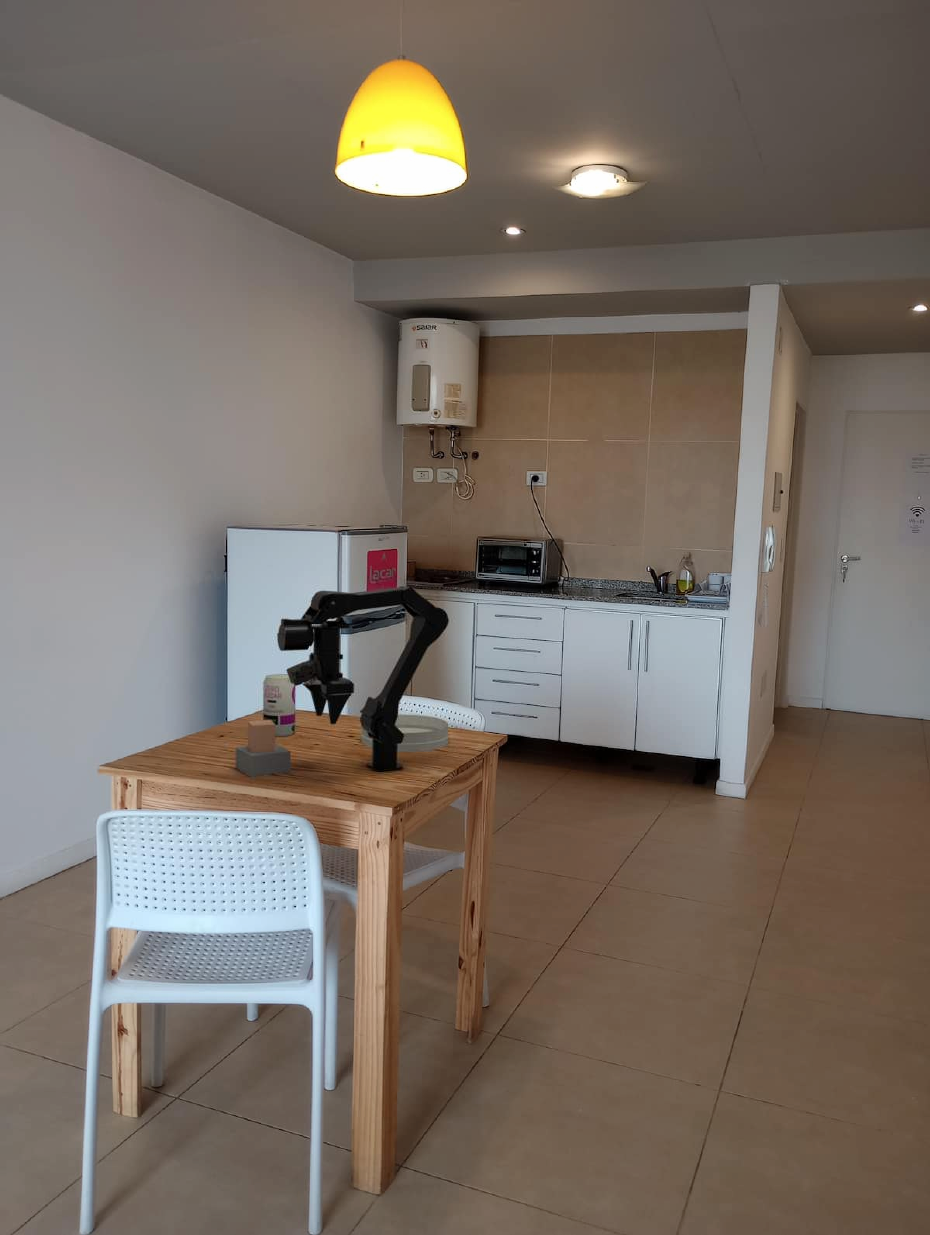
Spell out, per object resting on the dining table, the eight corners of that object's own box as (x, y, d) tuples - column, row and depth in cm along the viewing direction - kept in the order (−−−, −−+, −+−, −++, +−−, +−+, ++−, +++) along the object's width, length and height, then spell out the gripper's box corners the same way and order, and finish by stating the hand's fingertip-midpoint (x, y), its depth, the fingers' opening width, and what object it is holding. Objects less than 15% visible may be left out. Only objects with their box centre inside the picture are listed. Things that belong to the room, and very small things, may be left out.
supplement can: (295, 729, 258) (295, 673, 257) (295, 736, 250) (295, 678, 249) (263, 730, 257) (263, 673, 255) (262, 737, 249) (262, 679, 247)
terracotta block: (275, 751, 215) (275, 724, 215) (252, 752, 213) (252, 725, 213) (270, 746, 220) (270, 719, 219) (248, 747, 218) (248, 721, 217)
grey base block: (290, 773, 216) (290, 751, 216) (252, 778, 211) (252, 756, 211) (273, 764, 224) (273, 742, 223) (235, 769, 218) (235, 747, 218)
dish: (464, 740, 253) (464, 720, 252) (420, 757, 233) (421, 737, 233) (391, 729, 263) (391, 711, 262) (343, 745, 243) (343, 725, 243)
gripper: (278, 645, 217) (277, 714, 219) (304, 656, 201) (303, 731, 202) (326, 643, 222) (325, 711, 224) (355, 654, 206) (354, 727, 207)
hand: (326, 719), depth 214 cm, fingers open, 9 cm apart
